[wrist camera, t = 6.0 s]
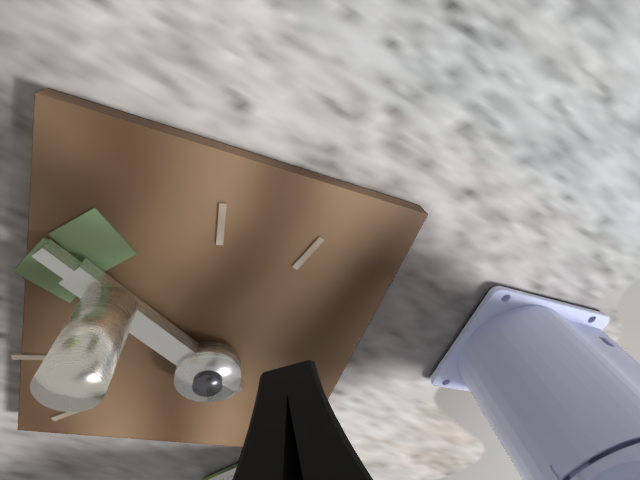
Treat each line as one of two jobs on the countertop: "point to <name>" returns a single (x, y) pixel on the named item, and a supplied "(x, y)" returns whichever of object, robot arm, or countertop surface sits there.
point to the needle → (120, 342)
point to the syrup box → (223, 474)
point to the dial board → (198, 263)
